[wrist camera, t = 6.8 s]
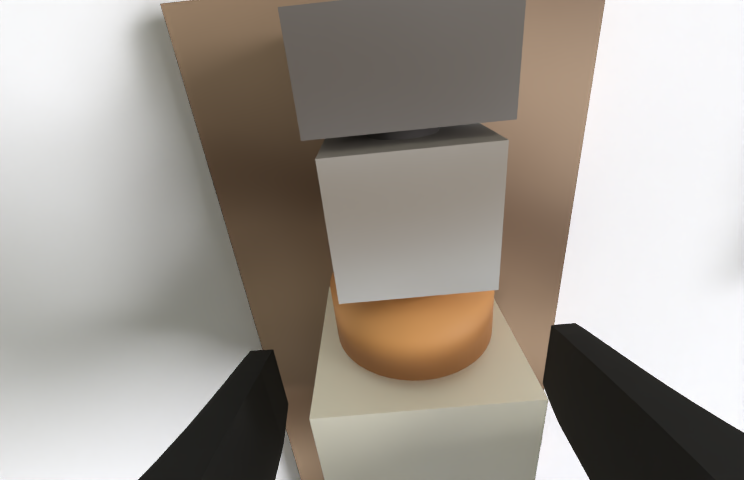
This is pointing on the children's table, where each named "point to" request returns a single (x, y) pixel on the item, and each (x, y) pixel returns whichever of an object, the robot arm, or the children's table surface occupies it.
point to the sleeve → (428, 416)
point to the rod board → (293, 191)
